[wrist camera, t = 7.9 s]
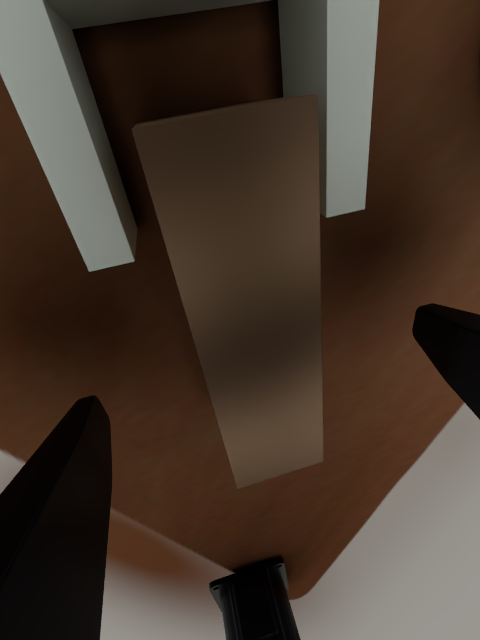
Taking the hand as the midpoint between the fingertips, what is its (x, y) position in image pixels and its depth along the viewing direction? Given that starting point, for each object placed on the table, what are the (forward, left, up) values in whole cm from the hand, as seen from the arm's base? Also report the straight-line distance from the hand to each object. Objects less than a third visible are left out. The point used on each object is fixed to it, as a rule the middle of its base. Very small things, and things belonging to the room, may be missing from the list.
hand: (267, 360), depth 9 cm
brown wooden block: (0, 0, -5) cm, 5 cm away
